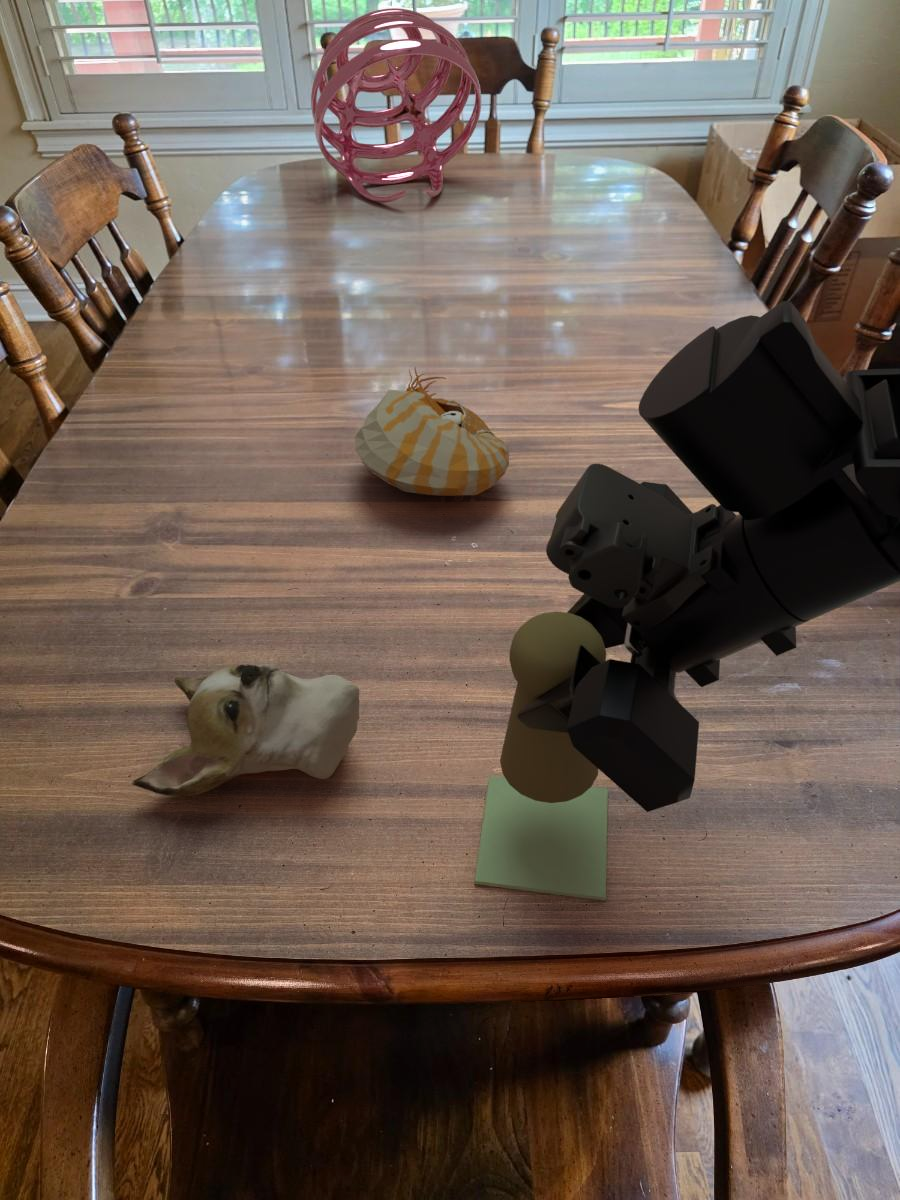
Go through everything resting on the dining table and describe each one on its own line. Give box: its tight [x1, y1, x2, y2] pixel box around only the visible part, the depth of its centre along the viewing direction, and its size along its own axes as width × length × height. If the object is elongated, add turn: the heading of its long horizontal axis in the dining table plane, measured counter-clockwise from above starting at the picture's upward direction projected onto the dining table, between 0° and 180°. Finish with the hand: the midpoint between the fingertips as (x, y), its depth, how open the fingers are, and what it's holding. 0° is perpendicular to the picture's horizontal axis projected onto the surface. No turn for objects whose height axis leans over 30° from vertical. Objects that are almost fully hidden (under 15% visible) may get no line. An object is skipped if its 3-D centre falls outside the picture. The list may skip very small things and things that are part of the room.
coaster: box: [474, 774, 609, 902], centre depth 56 cm, size 8×8×1 cm
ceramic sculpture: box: [131, 663, 360, 797], centre depth 58 cm, size 11×9×15 cm
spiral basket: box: [310, 7, 482, 204], centre depth 143 cm, size 28×28×27 cm
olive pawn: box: [499, 611, 607, 803], centre depth 50 cm, size 6×6×11 cm
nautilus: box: [354, 366, 510, 497], centre depth 86 cm, size 8×22×15 cm
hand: (531, 685), depth 49 cm, fingers closed on olive pawn, 5 cm apart
